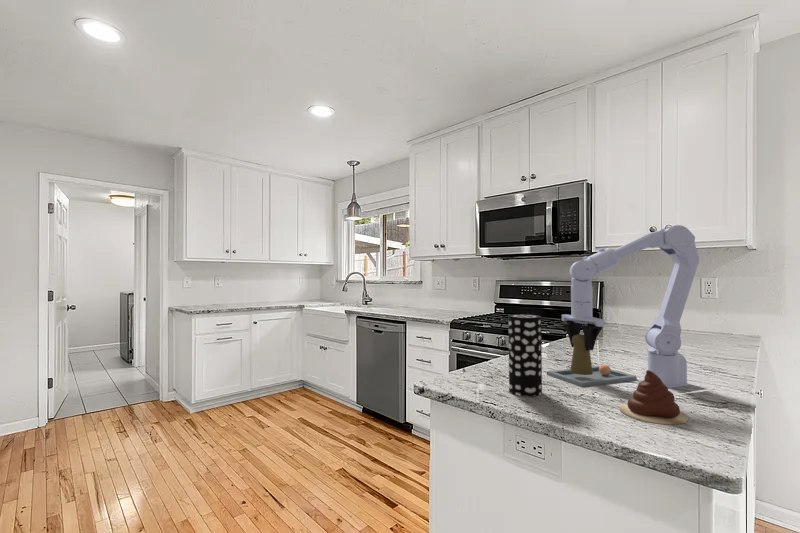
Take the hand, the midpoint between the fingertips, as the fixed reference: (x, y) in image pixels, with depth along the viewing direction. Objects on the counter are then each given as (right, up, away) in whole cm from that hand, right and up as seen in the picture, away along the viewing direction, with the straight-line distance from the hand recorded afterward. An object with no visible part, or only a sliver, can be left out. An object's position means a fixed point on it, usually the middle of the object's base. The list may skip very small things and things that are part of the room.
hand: (582, 348), depth 121 cm
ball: (+8, -9, +3) cm, 12 cm away
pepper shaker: (0, -7, 0) cm, 7 cm away
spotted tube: (-20, -9, -12) cm, 25 cm away
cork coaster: (+3, -9, -29) cm, 30 cm away
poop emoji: (+3, -9, -29) cm, 30 cm away
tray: (+3, -9, +1) cm, 10 cm away
